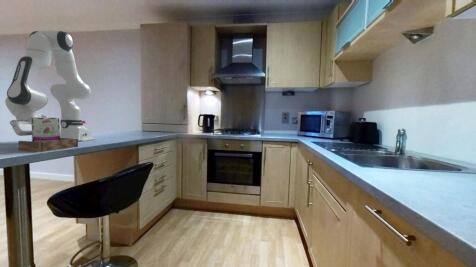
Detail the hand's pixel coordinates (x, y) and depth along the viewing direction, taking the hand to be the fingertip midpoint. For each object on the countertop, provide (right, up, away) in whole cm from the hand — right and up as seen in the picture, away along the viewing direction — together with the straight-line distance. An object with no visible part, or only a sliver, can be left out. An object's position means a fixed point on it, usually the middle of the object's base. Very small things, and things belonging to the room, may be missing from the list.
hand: (45, 139), depth 127 cm
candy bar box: (+2, -5, -2) cm, 6 cm away
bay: (+2, -5, 0) cm, 5 cm away
